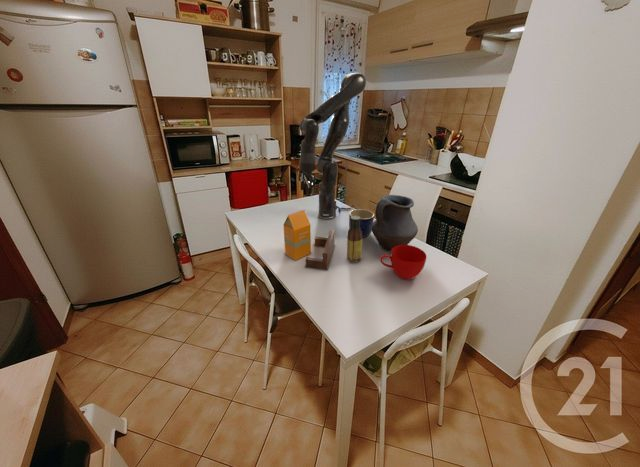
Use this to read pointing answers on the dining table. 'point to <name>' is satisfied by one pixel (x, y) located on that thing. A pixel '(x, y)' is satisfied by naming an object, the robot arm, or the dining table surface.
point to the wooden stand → (327, 252)
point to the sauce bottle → (354, 240)
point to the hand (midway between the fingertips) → (306, 192)
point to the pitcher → (394, 222)
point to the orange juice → (297, 235)
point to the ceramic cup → (406, 261)
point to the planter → (363, 220)
